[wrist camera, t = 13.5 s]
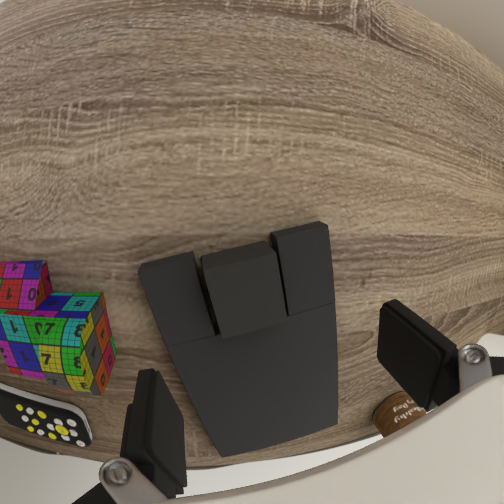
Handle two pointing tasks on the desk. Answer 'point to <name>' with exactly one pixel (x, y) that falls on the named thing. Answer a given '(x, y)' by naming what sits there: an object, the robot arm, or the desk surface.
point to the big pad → (255, 347)
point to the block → (53, 331)
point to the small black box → (245, 288)
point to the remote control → (44, 416)
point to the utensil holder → (396, 413)
